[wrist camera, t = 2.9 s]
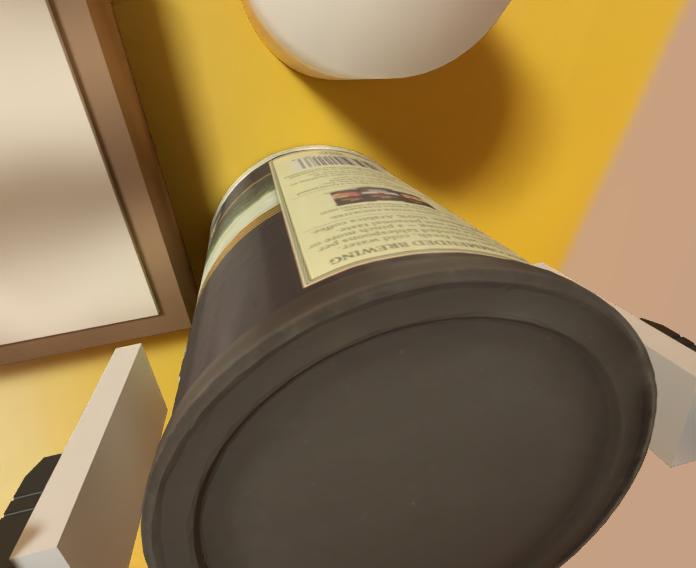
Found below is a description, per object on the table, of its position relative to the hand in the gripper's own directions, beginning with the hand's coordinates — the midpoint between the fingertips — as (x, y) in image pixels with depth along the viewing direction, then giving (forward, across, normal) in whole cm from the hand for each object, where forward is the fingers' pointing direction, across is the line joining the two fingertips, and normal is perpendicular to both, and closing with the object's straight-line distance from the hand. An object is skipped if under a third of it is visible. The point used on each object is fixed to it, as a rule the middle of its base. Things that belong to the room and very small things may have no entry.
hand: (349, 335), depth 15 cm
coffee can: (+7, 0, 0) cm, 7 cm away
